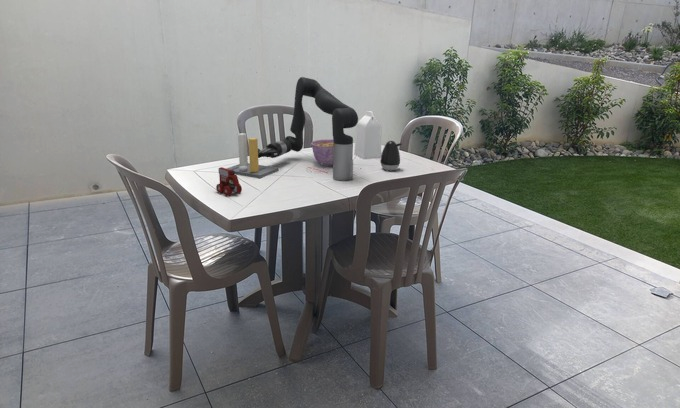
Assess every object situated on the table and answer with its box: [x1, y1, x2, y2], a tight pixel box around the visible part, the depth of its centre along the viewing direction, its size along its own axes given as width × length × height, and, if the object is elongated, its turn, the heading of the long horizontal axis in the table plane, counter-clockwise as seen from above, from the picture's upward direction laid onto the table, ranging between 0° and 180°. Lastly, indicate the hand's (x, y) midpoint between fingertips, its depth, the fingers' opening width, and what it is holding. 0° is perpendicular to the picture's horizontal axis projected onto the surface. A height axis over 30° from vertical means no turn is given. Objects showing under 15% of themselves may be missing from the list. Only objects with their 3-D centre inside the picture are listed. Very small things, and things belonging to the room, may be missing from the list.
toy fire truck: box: [215, 166, 243, 197], centre depth 185 cm, size 7×12×10 cm, turn 50°
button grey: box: [239, 166, 248, 172], centre depth 214 cm, size 4×4×2 cm
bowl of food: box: [311, 139, 333, 167], centre depth 234 cm, size 20×20×12 cm
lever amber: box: [247, 137, 260, 172], centre depth 210 cm, size 3×3×16 cm
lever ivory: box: [237, 132, 249, 166], centre depth 221 cm, size 3×3×16 cm
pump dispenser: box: [380, 140, 402, 171], centre depth 225 cm, size 10×10×15 cm
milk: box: [353, 110, 382, 160], centre depth 251 cm, size 12×12×26 cm
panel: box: [226, 162, 280, 179], centre depth 218 cm, size 22×16×2 cm
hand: (256, 155), depth 212 cm, fingers closed
